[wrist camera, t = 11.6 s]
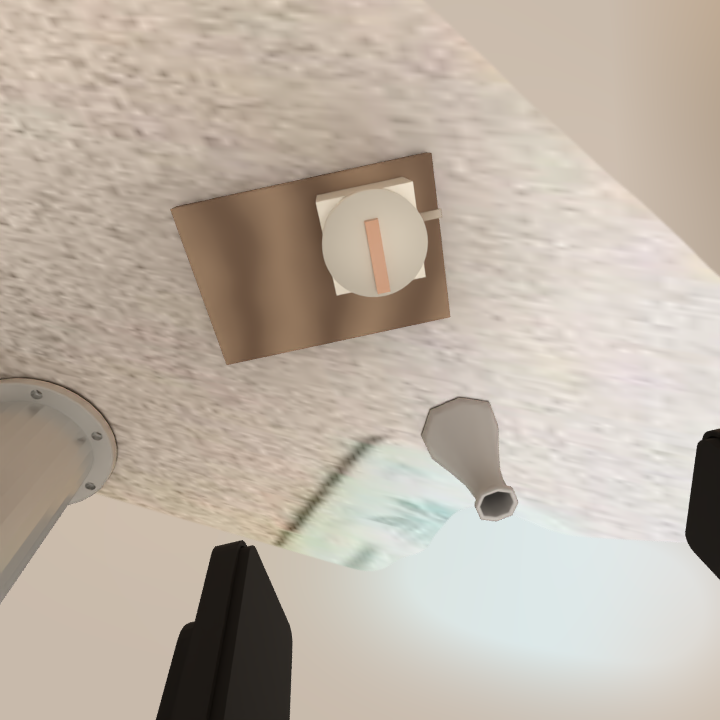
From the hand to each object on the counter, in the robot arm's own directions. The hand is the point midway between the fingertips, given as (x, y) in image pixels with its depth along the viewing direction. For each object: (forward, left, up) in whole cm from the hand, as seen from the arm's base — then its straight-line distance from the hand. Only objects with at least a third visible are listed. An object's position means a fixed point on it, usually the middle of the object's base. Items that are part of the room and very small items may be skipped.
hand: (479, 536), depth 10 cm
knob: (+1, +2, -26) cm, 26 cm away
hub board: (-3, 0, -28) cm, 28 cm away
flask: (+6, -18, -28) cm, 34 cm away
